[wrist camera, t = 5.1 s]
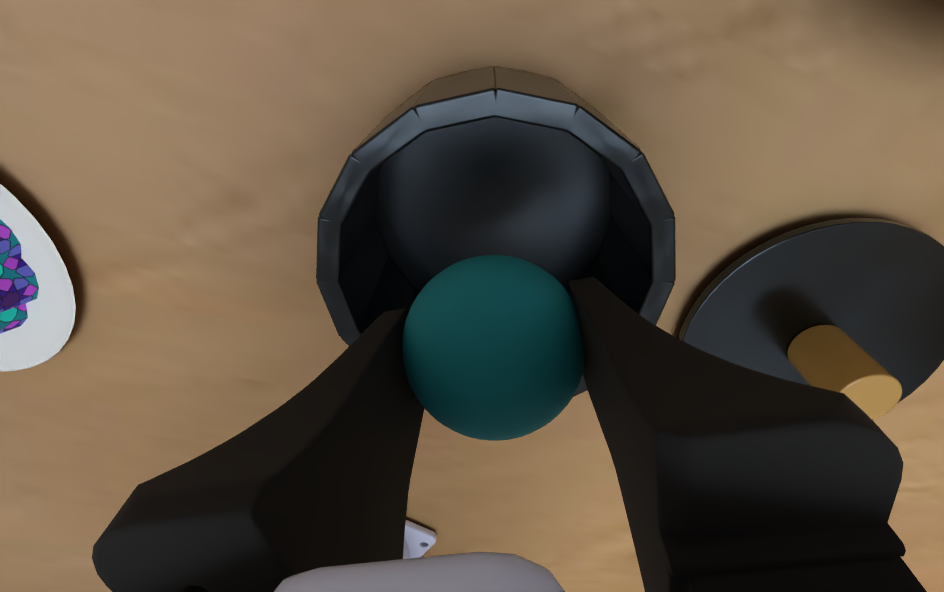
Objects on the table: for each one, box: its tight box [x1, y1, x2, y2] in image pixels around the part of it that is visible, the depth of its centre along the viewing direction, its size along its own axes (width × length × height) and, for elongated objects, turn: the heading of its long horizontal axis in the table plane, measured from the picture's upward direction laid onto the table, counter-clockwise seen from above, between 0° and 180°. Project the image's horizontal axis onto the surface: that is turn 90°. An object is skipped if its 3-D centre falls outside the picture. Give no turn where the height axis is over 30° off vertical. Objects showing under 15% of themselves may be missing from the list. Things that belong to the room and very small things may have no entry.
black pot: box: [316, 66, 676, 397], centre depth 17 cm, size 11×11×6 cm
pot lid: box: [678, 218, 944, 420], centre depth 20 cm, size 12×12×4 cm
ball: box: [402, 255, 585, 440], centre depth 12 cm, size 4×4×4 cm
